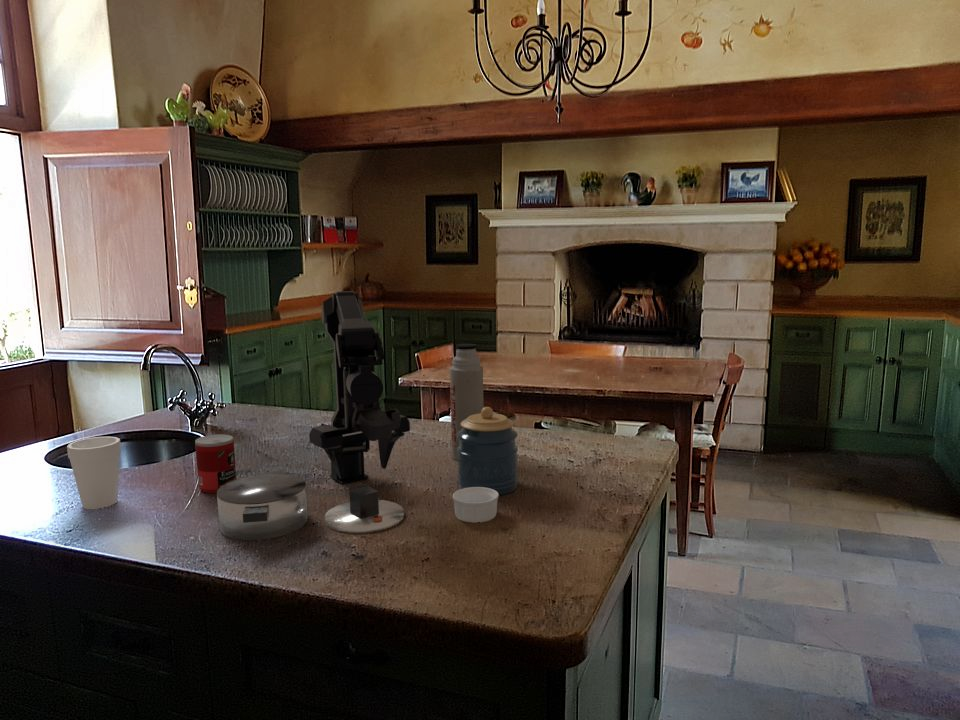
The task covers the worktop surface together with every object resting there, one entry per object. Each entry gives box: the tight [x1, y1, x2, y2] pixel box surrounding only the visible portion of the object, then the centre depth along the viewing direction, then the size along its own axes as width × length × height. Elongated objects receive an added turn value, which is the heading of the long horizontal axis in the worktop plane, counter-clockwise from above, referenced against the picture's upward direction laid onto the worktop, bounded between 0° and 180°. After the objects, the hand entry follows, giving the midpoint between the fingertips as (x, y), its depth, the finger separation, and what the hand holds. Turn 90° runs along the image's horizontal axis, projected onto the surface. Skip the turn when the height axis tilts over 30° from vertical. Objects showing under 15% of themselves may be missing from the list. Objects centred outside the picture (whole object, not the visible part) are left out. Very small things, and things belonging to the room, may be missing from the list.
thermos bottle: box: [449, 343, 485, 462], centre depth 172 cm, size 8×8×28 cm
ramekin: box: [452, 487, 500, 524], centre depth 137 cm, size 9×9×4 cm
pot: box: [216, 471, 309, 541], centre depth 134 cm, size 23×16×7 cm
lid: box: [324, 485, 405, 534], centre depth 136 cm, size 15×15×6 cm
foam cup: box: [66, 435, 122, 510], centre depth 145 cm, size 10×9×13 cm
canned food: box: [194, 433, 237, 494], centre depth 154 cm, size 8×8×11 cm
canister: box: [457, 406, 519, 496], centre depth 151 cm, size 13×13×18 cm
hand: (362, 473), depth 135 cm, fingers open, 9 cm apart
